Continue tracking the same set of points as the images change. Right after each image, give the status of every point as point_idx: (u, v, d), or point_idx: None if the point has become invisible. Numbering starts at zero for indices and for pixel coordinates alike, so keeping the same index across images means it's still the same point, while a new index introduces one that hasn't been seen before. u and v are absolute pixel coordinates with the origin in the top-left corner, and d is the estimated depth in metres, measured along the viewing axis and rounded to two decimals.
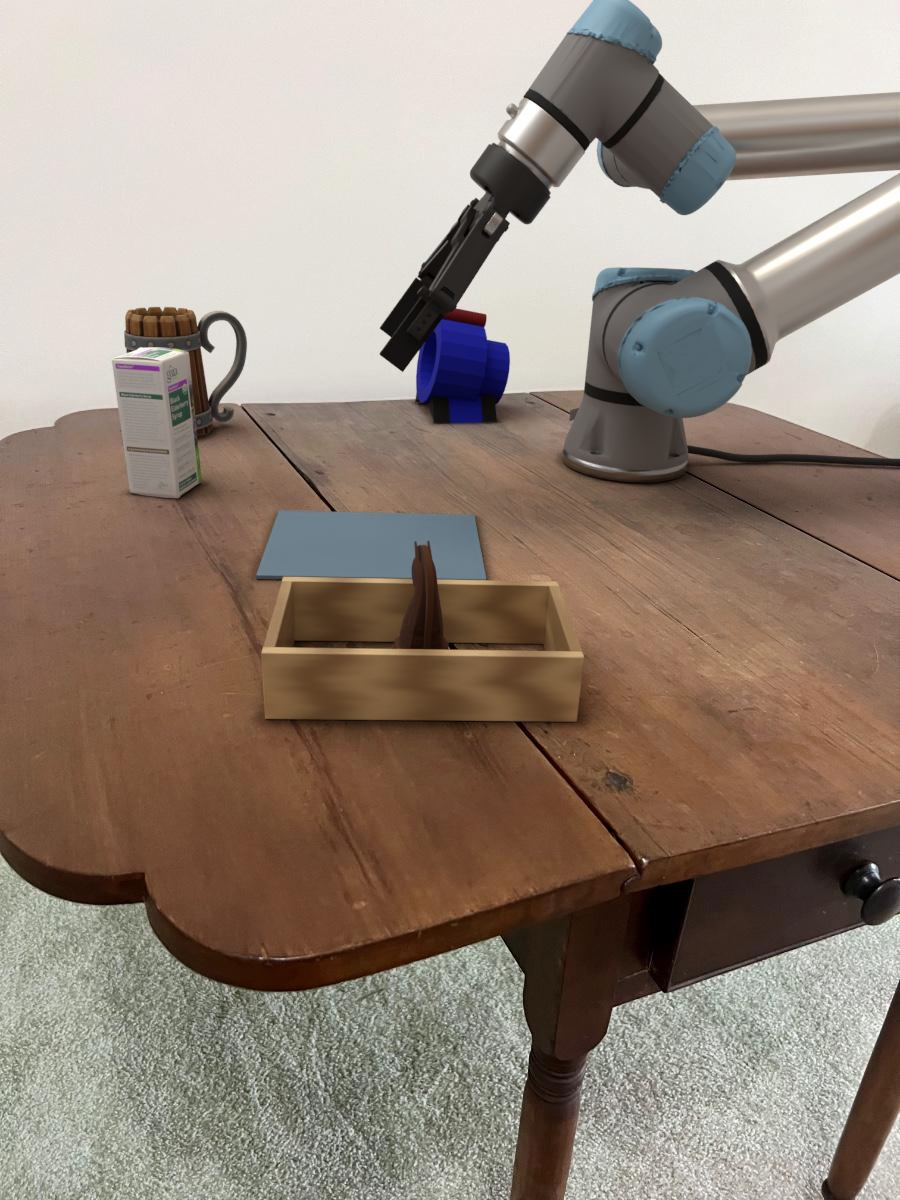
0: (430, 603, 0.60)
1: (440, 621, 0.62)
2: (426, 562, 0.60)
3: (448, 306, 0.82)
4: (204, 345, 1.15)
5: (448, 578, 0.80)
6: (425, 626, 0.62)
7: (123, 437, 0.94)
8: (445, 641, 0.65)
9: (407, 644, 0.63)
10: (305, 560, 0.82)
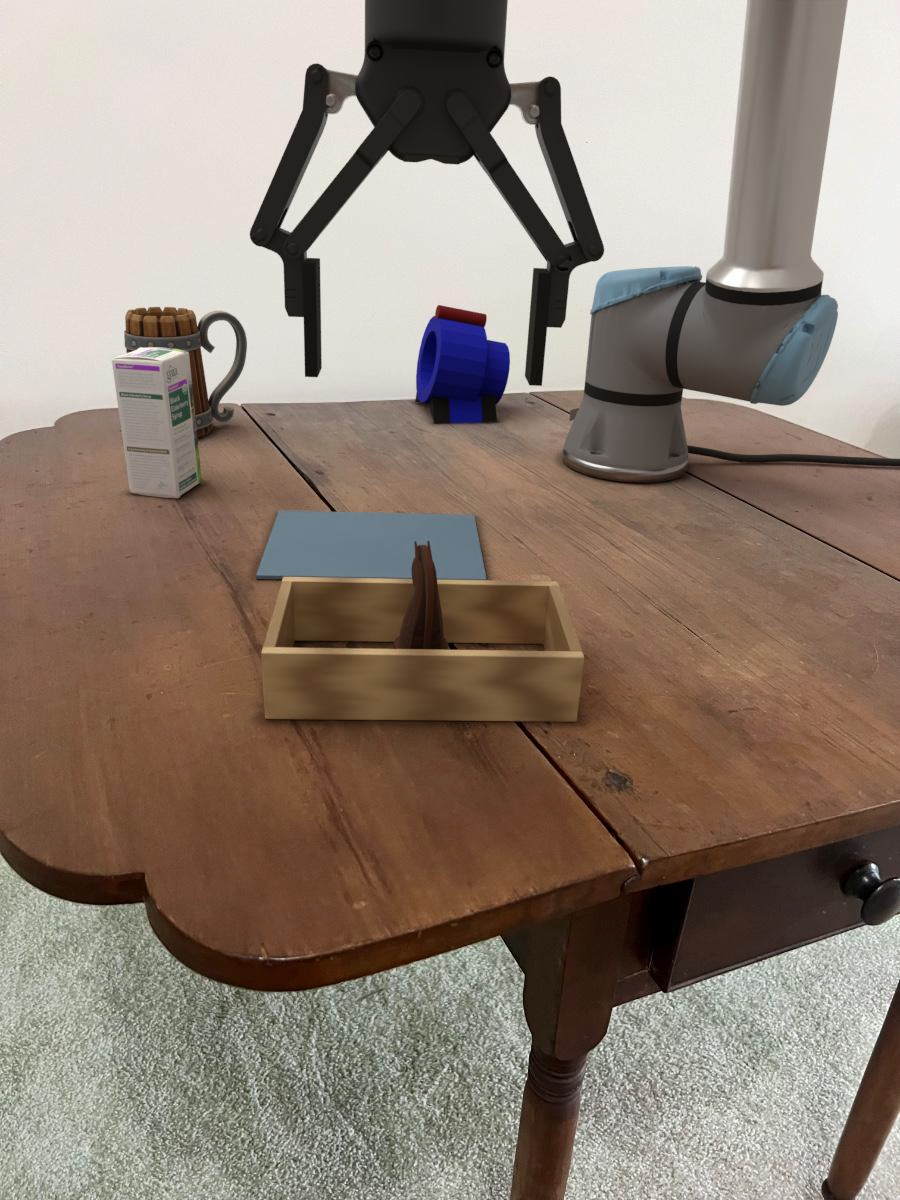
0: (430, 603, 0.60)
1: (440, 621, 0.62)
2: (426, 562, 0.60)
3: None
4: (204, 345, 1.15)
5: (448, 578, 0.80)
6: (425, 626, 0.62)
7: (123, 437, 0.94)
8: (445, 641, 0.65)
9: (407, 644, 0.63)
10: (305, 560, 0.82)
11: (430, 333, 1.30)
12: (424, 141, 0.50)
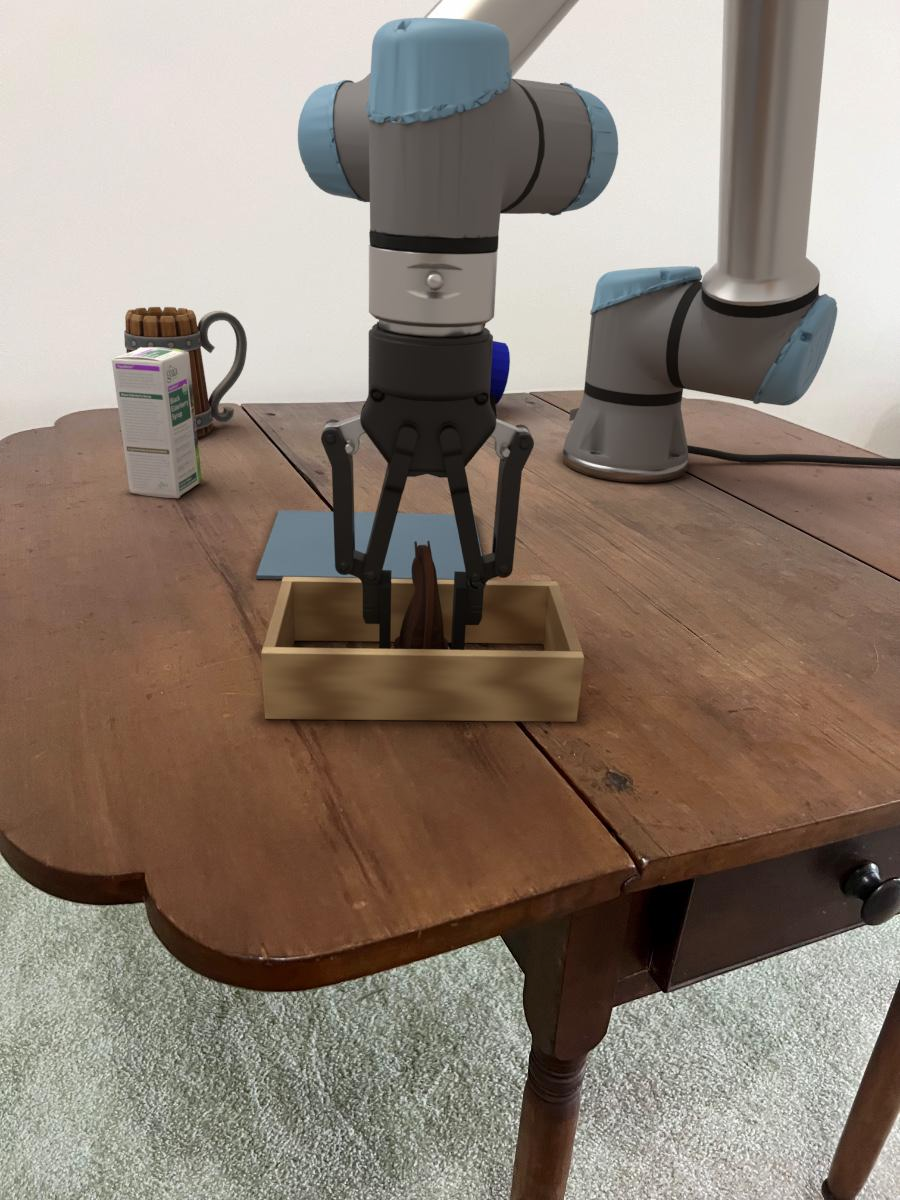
0: (430, 603, 0.60)
1: (440, 621, 0.62)
2: (426, 562, 0.60)
3: None
4: (204, 345, 1.15)
5: (448, 578, 0.80)
6: (425, 626, 0.62)
7: (123, 437, 0.94)
8: (445, 641, 0.65)
9: (407, 644, 0.63)
10: (305, 560, 0.82)
11: None
12: (421, 461, 0.58)
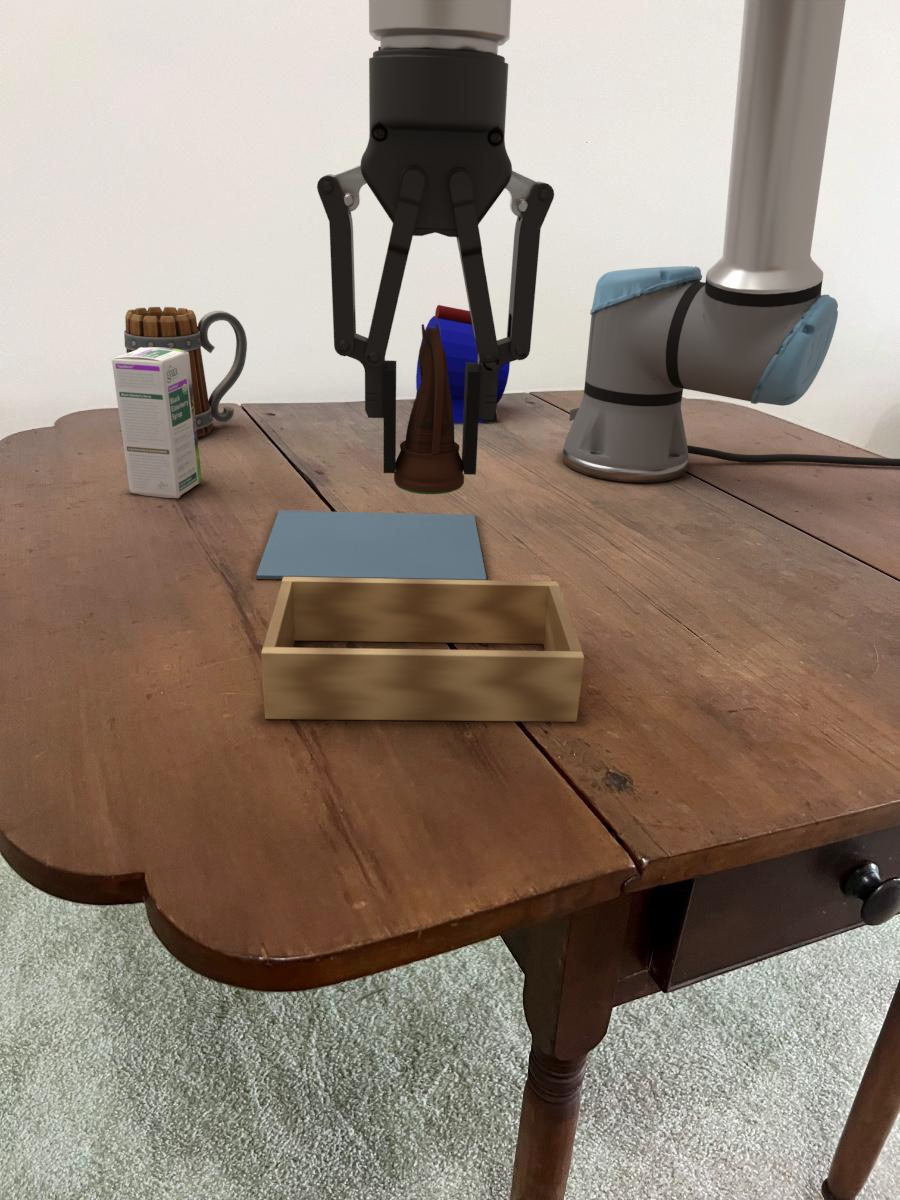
0: (440, 386, 0.55)
1: (451, 413, 0.57)
2: (435, 340, 0.55)
3: None
4: (204, 345, 1.15)
5: (448, 578, 0.80)
6: (435, 416, 0.56)
7: (123, 437, 0.94)
8: (456, 444, 0.60)
9: (414, 441, 0.57)
10: (305, 560, 0.82)
11: None
12: (428, 216, 0.52)
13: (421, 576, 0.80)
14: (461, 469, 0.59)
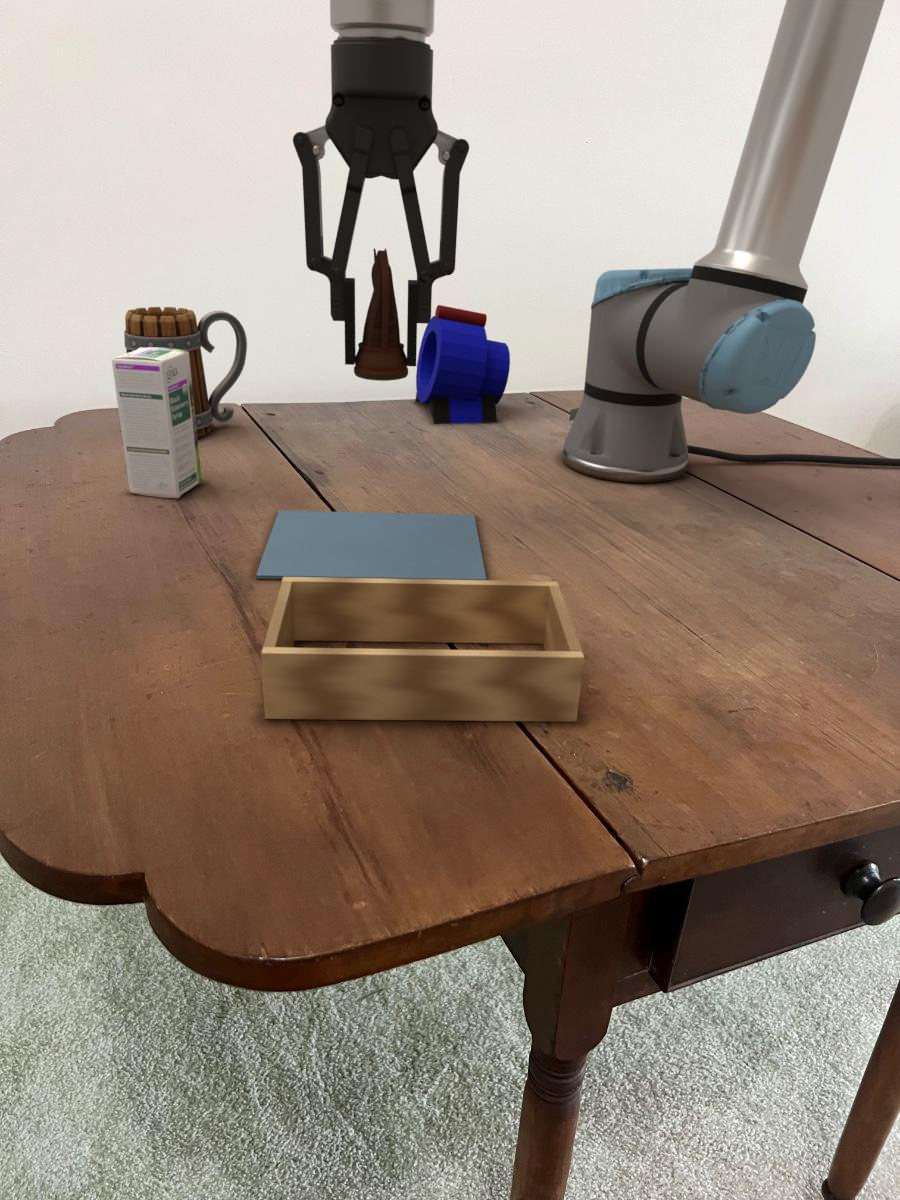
0: (386, 293, 0.72)
1: (395, 316, 0.74)
2: (382, 258, 0.72)
3: None
4: (204, 345, 1.15)
5: (448, 578, 0.80)
6: (383, 317, 0.74)
7: (123, 437, 0.94)
8: (401, 344, 0.77)
9: (368, 339, 0.75)
10: (305, 560, 0.82)
11: (430, 333, 1.30)
12: (376, 163, 0.70)
13: (421, 576, 0.80)
14: (405, 362, 0.77)
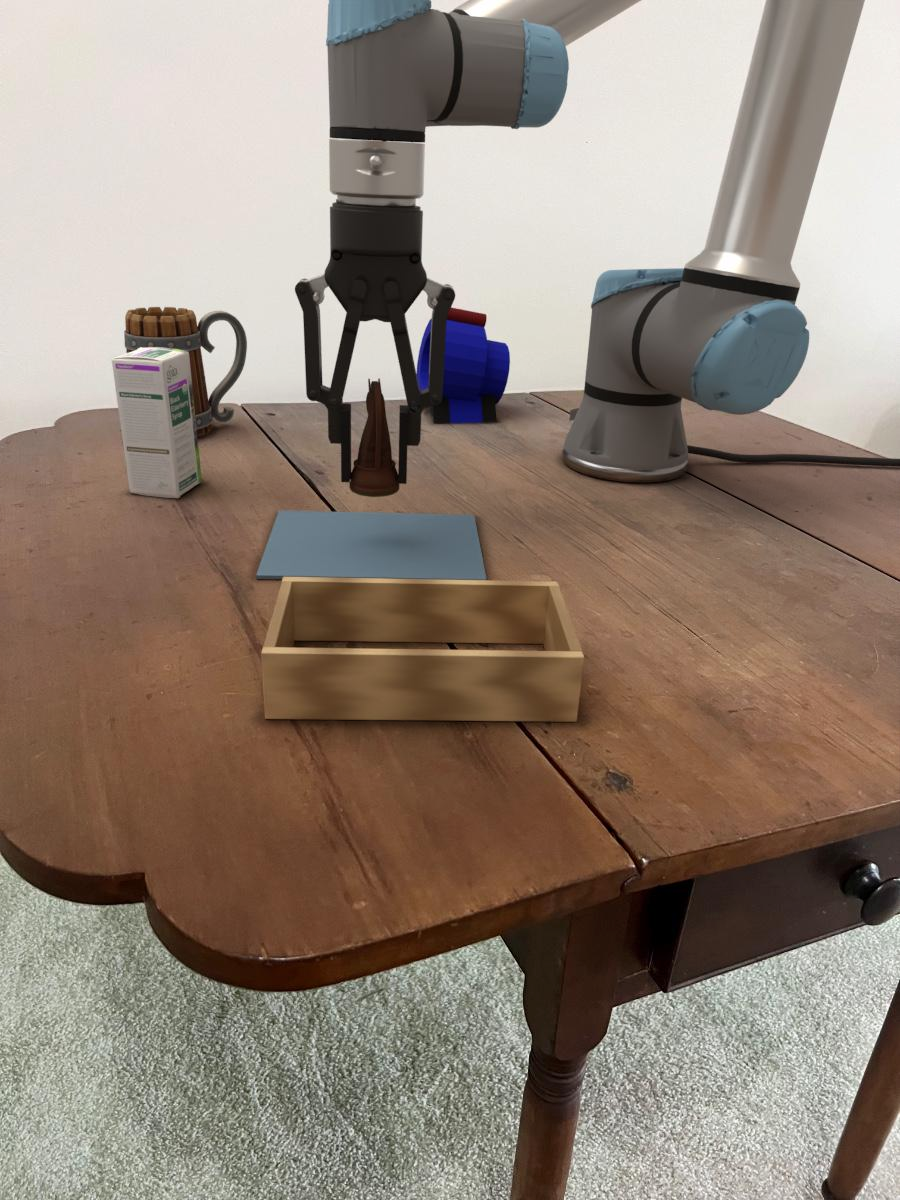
0: (379, 422, 0.79)
1: (388, 440, 0.81)
2: (376, 390, 0.79)
3: None
4: (204, 345, 1.15)
5: (448, 578, 0.80)
6: (376, 442, 0.80)
7: (123, 437, 0.94)
8: (393, 462, 0.84)
9: (363, 459, 0.82)
10: (305, 560, 0.82)
11: (430, 333, 1.30)
12: (370, 308, 0.76)
13: (421, 576, 0.80)
14: (396, 479, 0.84)
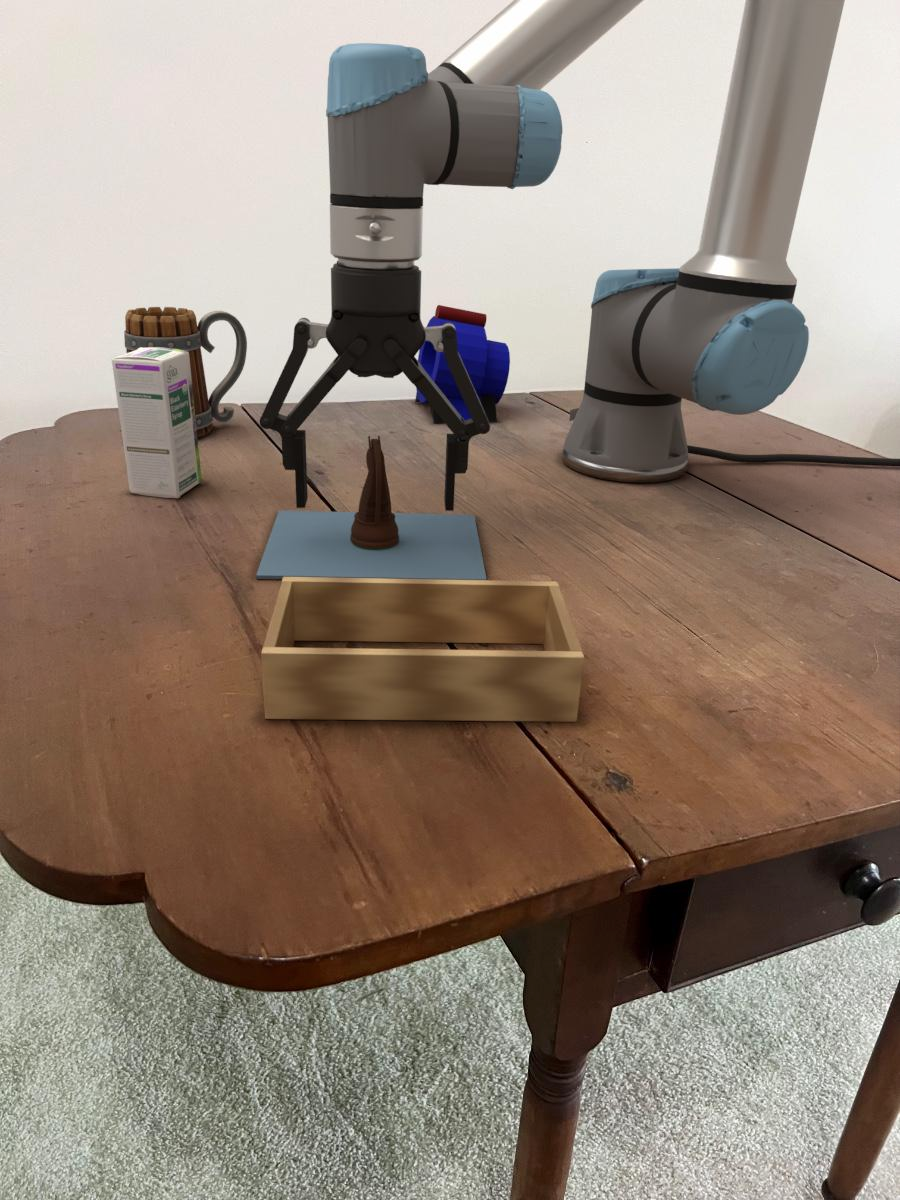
0: (379, 479, 0.82)
1: (387, 496, 0.83)
2: (376, 449, 0.81)
3: None
4: (204, 345, 1.15)
5: (448, 578, 0.80)
6: (376, 498, 0.83)
7: (123, 437, 0.94)
8: (393, 515, 0.86)
9: (363, 514, 0.84)
10: (305, 560, 0.82)
11: None
12: (370, 365, 0.79)
13: (421, 576, 0.80)
14: (396, 532, 0.86)
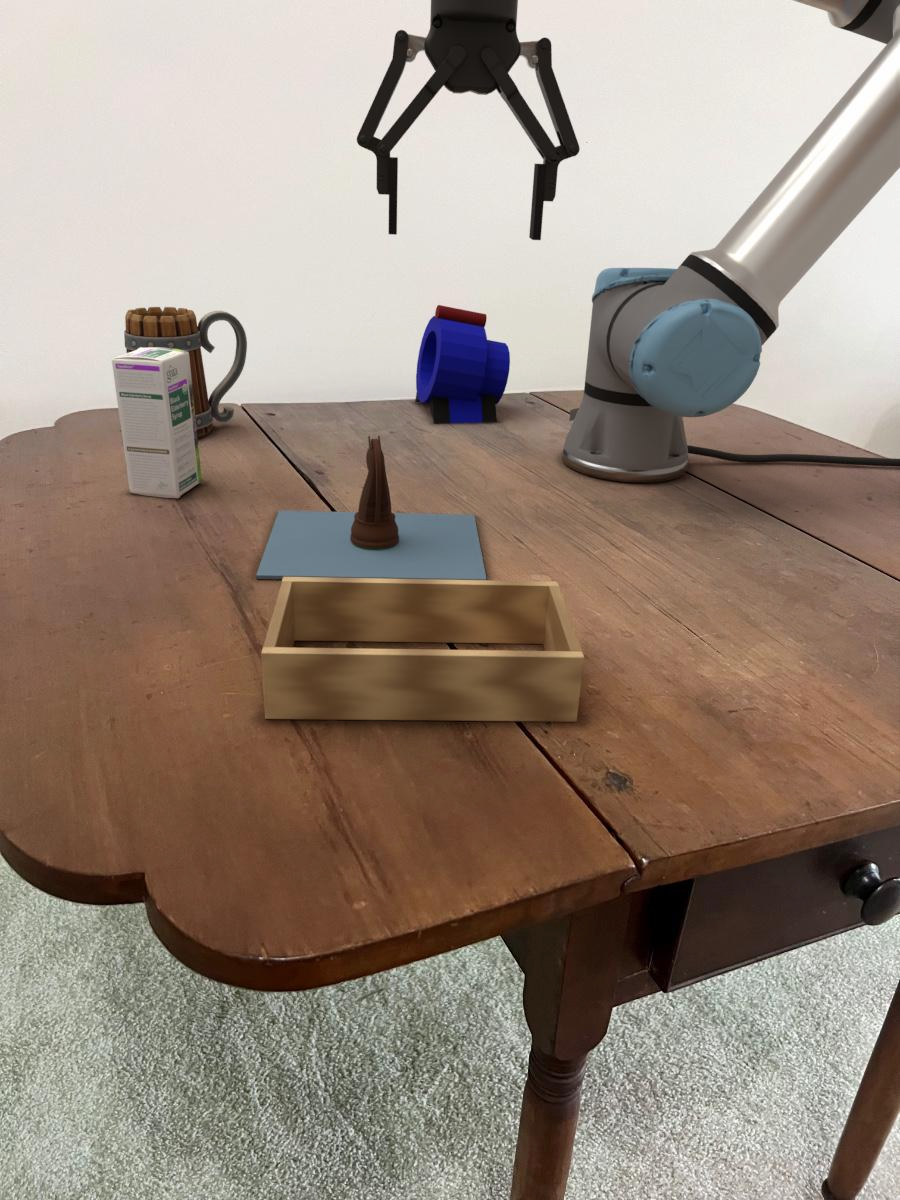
0: (379, 479, 0.82)
1: (387, 496, 0.83)
2: (376, 449, 0.81)
3: None
4: (204, 345, 1.15)
5: (448, 578, 0.80)
6: (376, 498, 0.83)
7: (123, 437, 0.94)
8: (393, 515, 0.86)
9: (363, 514, 0.84)
10: (305, 560, 0.82)
11: (430, 333, 1.30)
12: (467, 78, 0.81)
13: (421, 576, 0.80)
14: (396, 532, 0.86)
